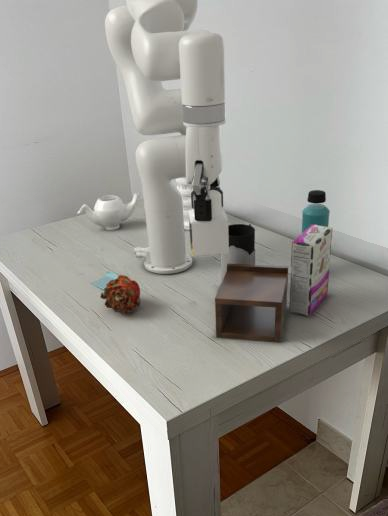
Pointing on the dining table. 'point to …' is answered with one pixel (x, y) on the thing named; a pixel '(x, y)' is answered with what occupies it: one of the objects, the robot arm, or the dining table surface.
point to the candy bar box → (310, 269)
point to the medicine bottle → (210, 228)
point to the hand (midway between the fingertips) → (207, 213)
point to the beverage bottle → (315, 210)
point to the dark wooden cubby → (252, 302)
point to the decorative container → (185, 198)
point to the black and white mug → (239, 246)
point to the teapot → (110, 211)
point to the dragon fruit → (122, 294)
